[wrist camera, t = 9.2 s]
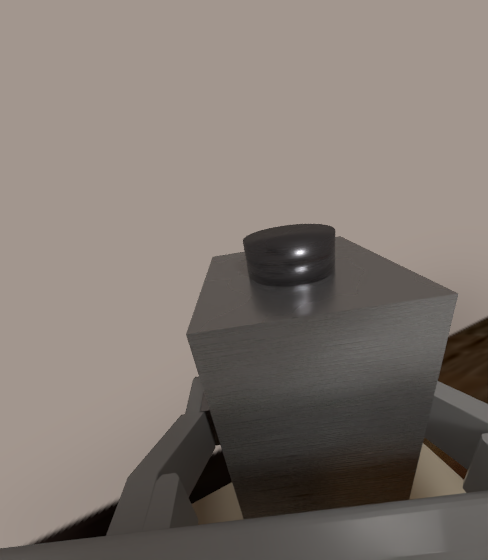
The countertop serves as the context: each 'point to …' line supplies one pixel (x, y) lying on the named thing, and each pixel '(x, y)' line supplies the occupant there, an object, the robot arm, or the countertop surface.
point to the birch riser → (427, 483)
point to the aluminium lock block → (318, 369)
